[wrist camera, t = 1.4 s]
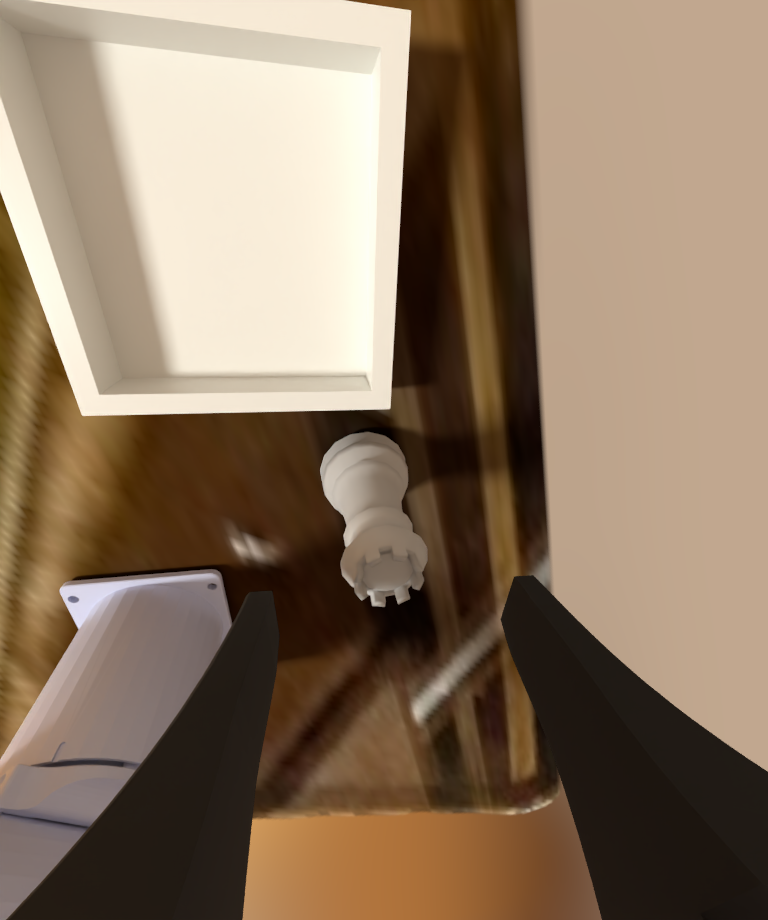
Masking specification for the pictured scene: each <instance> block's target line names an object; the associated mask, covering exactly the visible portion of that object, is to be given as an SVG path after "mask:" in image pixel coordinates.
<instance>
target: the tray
mask: <svg viewBox="0 0 768 920" xmlns="http://www.w3.org/2000/svg"><path fill="white" fill-rule="evenodd" d="M410 23H411V11H410V10H404V9H397V8H391V7H384V6H377V5H371V4H364V3H358V2H351V1H345V0H0V191H1V194H2V197H3V200H4V202H5V205H6V208H7V211H8V213H9V216H10V219H11V222H12V224H13V227H14V230H15V233H16V235H17V238H18V241H19V244H20V246H21V249H22V252H23V255H24V257H25V260H26V263H27V266H28V268H29V271H30V274H31V277H32V279H33V282H34V285H35V288H36V290H37V293H38V296H39V299H40V301H41V304H42V307H43V310H44V312H45V315H46V318H47V321H48V323H49V326H50V329H51V332H52V334H53V337H54V340H55V342H56V345H57V348H58V351H59V353H60V356H61V359H62V362H63V364H64V367H65V370H66V373H67V375H68V378H69V381H70V384H71V386H72V389H73V392H74V395H75V397H76V400H77V403H78V406H79V408H80V411H81V414H82V416H95V415H141V414H187V413H233V412H278V411H324V410H370V409H390V404H391V385H392V366H393V347H394V328H395V309H396V290H397V271H398V252H399V233H400V214H401V195H402V176H403V156H404V137H405V118H406V99H407V80H408V61H409V42H410Z"/></svg>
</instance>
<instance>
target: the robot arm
mask: <svg viewBox="0 0 768 920" xmlns="http://www.w3.org/2000/svg"><path fill="white" fill-rule="evenodd" d="M211 583H213V584H216V585H212V584H211ZM59 591H60V594H61V596H62V598H63V600H64V602H65V604H66V606H67V608H68V609H69V611H70V613H71V615H72V617H73V619H74V621H75V623H76V625H77V627H78V629H79V631H78V632H77V634H76V635H75V637H74V639H73V640H72V642H71V644H70V645H69V647H68V649H67V650H66V652H65V654H64V655H63V657H62V659H61V660H60V662H59V664H58V665H57V667H56V669H55V670H54V672H53V674H52V675H51V677H50V679H49V680H48V682H47V683H46V685H45V687H44V688H43V690H42V692H41V693H40V695H39V697H38V698H37V700H36V702H35V703H34V705H33V707H32V708H31V710H30V712H29V713H28V715H27V717H26V718H25V720H24V722H23V723H22V725H21V727H20V728H19V730H18V731H17V733H16V735H15V736H14V738H13V740H12V741H11V743H10V745H9V746H8V748H7V750H6V751H5V753H4V755H3V756H2V758H1V760H0V920H242V918H243V906H244V896H245V885H246V875H247V864H248V855H249V845H250V835H251V825H252V816H253V807H254V798H255V789H256V781H257V775H258V768H259V762H260V757H261V752H262V746H263V741H264V736H265V730H266V725H267V720H268V715H269V709H270V704H271V699H272V693H273V688H274V682H275V677H276V670H277V659H278V647H279V629H278V623H277V617H276V610H275V604H274V598H273V592H272V591H259V592H250V593H248V594H247V595H246V597H245V600H244V602H243V604H242V606H241V608H240V610H239V612H238V614H237V616H236V618H235V620H234V622H233V624H232V620H231V616H230V611H229V607H228V602H227V598H226V593H225V589H224V584H223V580H222V575H221V573H220V572H219V571H217V570H215V569H207V570H195V571H183V572H171V573H160V574H148V575H136V576H124V577H112V578H100V579H89V580H77V581H68V582H66V583H64V584H63V586H62V587H61V588H60V590H59ZM75 596H76V597H75ZM501 622H502V626H503V629H504V633H505V636H506V640H507V643H508V646H509V649H510V652H511V655H512V658H513V660H514V662H515V665H516V667H517V670H518V672H519V674H520V677H521V679H522V681H523V684H524V686H525V688H526V691H527V693H528V695H529V698H530V700H531V702H532V705H533V707H534V709H535V712H536V714H537V716H538V719H539V721H540V723H541V726H542V728H543V730H544V733H545V735H546V738H547V740H548V743H549V745H550V748H551V751H552V753H553V756H554V760H555V763H556V766H557V769H558V772H559V775H560V778H561V781H562V784H563V786H564V789H565V793H566V796H567V799H568V802H569V805H570V809H571V812H572V815H573V818H574V822H575V825H576V828H577V831H578V834H579V838H580V841H581V845H582V848H583V852H584V855H585V859H586V862H587V866H588V869H589V873H590V876H591V879H592V883H593V887H594V891H595V895H596V898H597V902H598V906H599V910H600V914H601V918H602V920H768V772H767V771H766V770H764V769H762V768H761V767H760V766H758V765H757V764H755V763H753V762H752V761H750V760H749V759H747V758H746V757H745V756H743V755H742V754H740V753H739V752H737V751H736V750H734V749H733V748H731V747H730V746H729V745H727V744H726V743H724V742H723V741H721V740H720V739H719V738H717V737H716V736H715V735H713V734H712V733H710V732H709V731H708V730H706V729H705V728H703V727H702V726H701V725H699V724H698V723H697V722H695V721H694V720H692V719H691V718H690V717H688V716H687V715H686V714H684V713H683V712H682V711H681V710H679V709H678V708H677V707H675V706H674V705H673V704H672V703H670V702H669V701H668V700H666V699H665V698H664V697H663V696H661V695H660V694H659V693H658V692H657V691H655V690H654V689H653V688H652V687H650V686H649V685H648V684H646V683H645V682H644V681H643V680H642V679H641V678H640V677H638V676H637V675H636V674H635V673H633V671H631V670H630V669H629V668H628V667H627V666H626V665H625V664H623V663H622V662H621V661H620V660H619V659H618V658H617V657H616V656H614V655H613V654H612V653H611V652H610V651H609V650H608V649H607V648H606V647H605V646H604V645H603V644H601V643H600V642H599V641H598V640H597V639H596V638H595V637H594V636H593V635H592V634H591V633H590V632H589V631H588V630H587V629H586V628H585V627H584V626H583V625H582V624H581V623H580V622H579V621H577V619H576V618H575V617H574V616H573V615H572V614H571V613H570V612H569V611H568V610H567V609H566V608H565V607H564V606H563V605H562V604H561V603H560V602H559V601H558V600H557V599H556V598H555V597H554V596H553V595H552V594H551V593H550V592H549V591H548V590H547V589H546V588H545V587H544V586H543V585H542V584H541V583H540V582H539V581H538V580H537V579H536V578H535V577H534V576H533V575H532V576H515V577H514V579H513V582H512V585H511V588H510V592H509V595H508V598H507V601H506V604H505V607H504V610H503V614H502V617H501Z"/></svg>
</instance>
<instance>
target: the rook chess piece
mask: <svg viewBox="0 0 768 920" xmlns="http://www.w3.org/2000/svg"><path fill="white" fill-rule="evenodd" d="M320 473H321V479H322V485H323V489H324V494H325V496H326V497H327V499H328V500H329V501H330V503H331V504H332V505H333V507H334V508H335V509H336V510H338V511H339V512H340V513H341V514H342V515H343V516H344V519H345V521H346V524H347V527H346V530H345V532H344V535H343V536H344V542H345V547H346V549H345V551H344V553H343V556H342V559H341V562H340V565H341V571H342V576H343V577H344V578H345V579H346V581H347V582H348V583H349V584H350V585H351V586H352V587H354V591H355V594H356V595H357V596H358V597H359V599H360V600H361V601H362V600H364V599H365V598H366V597H368V595H370V597H371V603H372V606H379V607H385V604H386V599H385V597H386V596H391V595H395V596H396V600H397V603H398V604H401V603H403V602H405V601H407V600H409V599H410V596H409V592H408V588H409V587H410V586H411V585H412V587H413V589H416V590H420V588H421V586H422V584H423V582H424V578H423V575H422V571H424V567H425V565H426V563H427V561H428V559H427V547H426V545H425V543H424V542H423V540H422V538H421V537H420V536H418V535H417V534H415V533H413V531H412V523H411V521H410V520H409V518H408V517H407V515H406V514H404V513H403V512H402V505H401V501H402V498H403V496H404V493H405V491H406V489H407V486H408V467H407V465H406V463H405V457H404V455H403V453H402V451H401V450H400V448H399V446H398V445H397V444H396V443H394V442H393V441H392V440H390V439H389V438H387V437H386V436H384V435H380V434H375V433H371V432H364V433H357V434H350V435H348V436H347V437H345V438H343V439H341V440H339V441H337V442H335V443H334V444H333V446H332V447H331V448H330V449H329V450H328V452H327V453H326V454H325V455H324V458H323V461H322V465H321V468H320ZM367 594H368V595H367Z"/></svg>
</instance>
